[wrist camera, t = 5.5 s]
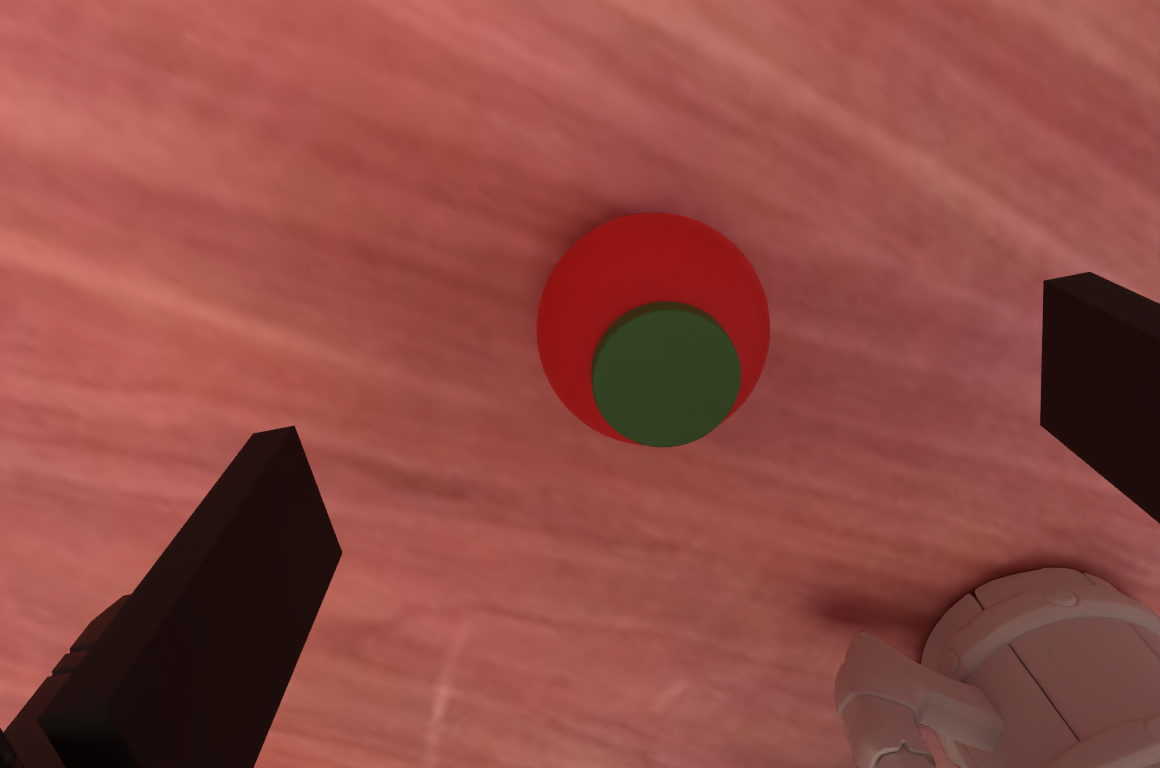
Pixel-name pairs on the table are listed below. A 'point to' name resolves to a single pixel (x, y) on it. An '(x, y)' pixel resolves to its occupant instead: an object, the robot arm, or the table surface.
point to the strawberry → (653, 329)
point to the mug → (1014, 681)
